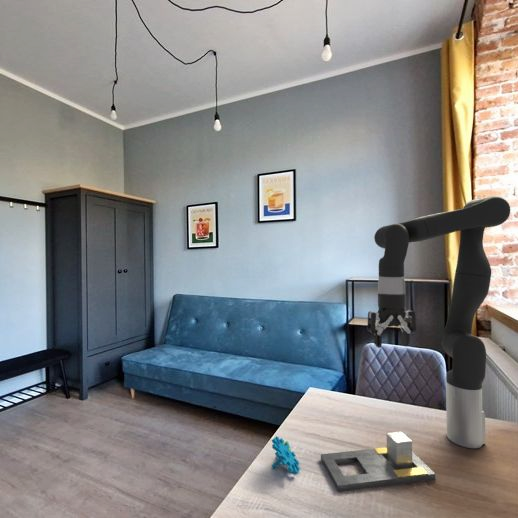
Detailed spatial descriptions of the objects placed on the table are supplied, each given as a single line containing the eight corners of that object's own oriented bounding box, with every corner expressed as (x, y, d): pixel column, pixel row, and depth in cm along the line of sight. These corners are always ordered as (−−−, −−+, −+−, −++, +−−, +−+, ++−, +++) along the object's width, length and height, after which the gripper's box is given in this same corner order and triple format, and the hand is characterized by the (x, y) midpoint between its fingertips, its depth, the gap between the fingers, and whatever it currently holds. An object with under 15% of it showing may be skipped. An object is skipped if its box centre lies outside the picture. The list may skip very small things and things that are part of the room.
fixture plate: (405, 450, 89) (405, 444, 89) (435, 479, 78) (435, 472, 78) (320, 459, 86) (320, 453, 86) (338, 491, 74) (338, 484, 74)
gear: (300, 478, 76) (272, 444, 78) (283, 494, 76) (256, 460, 79) (303, 456, 87) (278, 427, 89) (288, 470, 87) (264, 441, 89)
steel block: (401, 460, 85) (401, 431, 85) (412, 471, 81) (412, 441, 81) (386, 462, 84) (386, 433, 85) (396, 473, 80) (396, 442, 80)
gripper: (405, 290, 96) (405, 341, 96) (362, 291, 94) (363, 344, 94) (421, 292, 88) (422, 348, 88) (375, 293, 86) (376, 351, 86)
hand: (391, 346), depth 91 cm, fingers open, 8 cm apart
